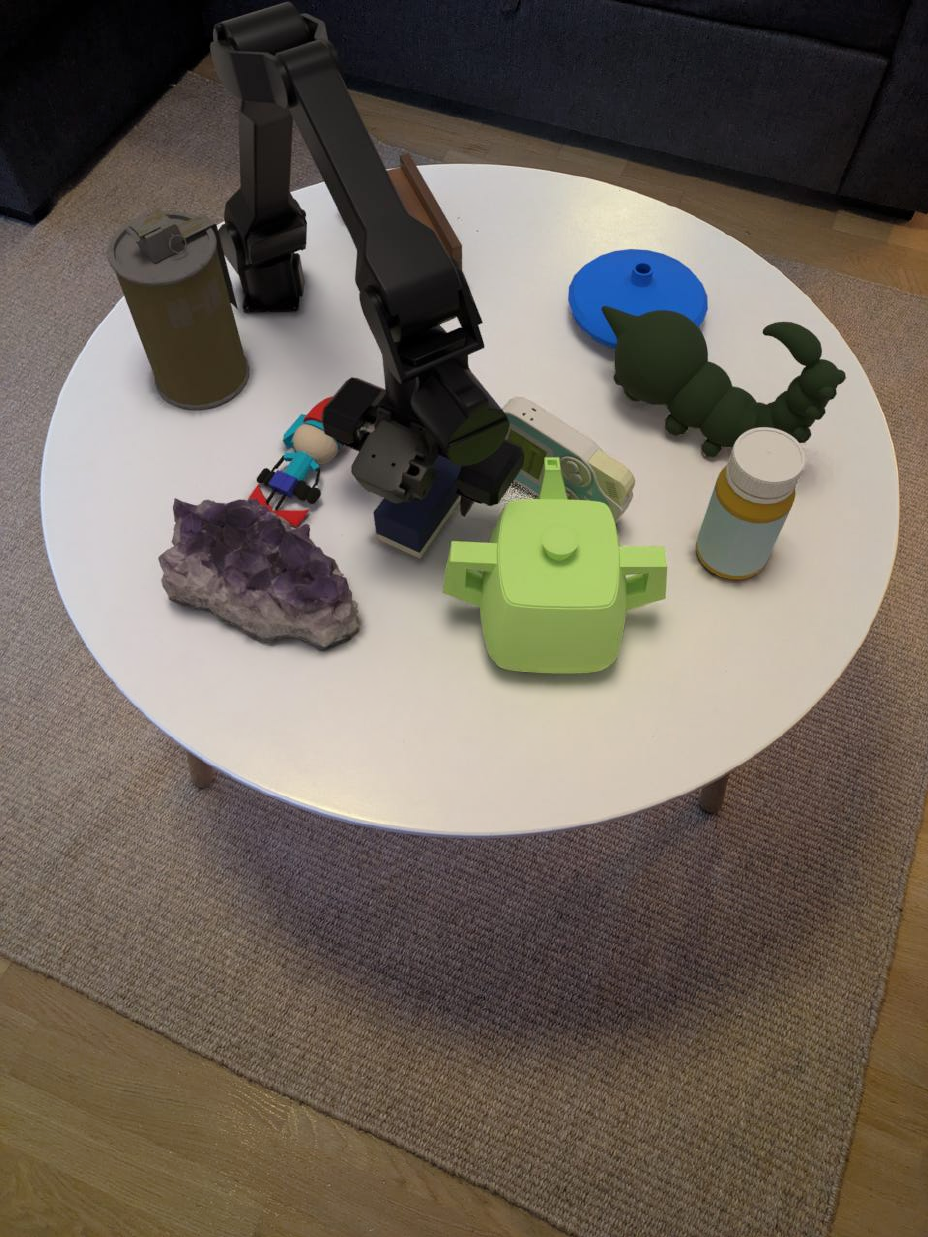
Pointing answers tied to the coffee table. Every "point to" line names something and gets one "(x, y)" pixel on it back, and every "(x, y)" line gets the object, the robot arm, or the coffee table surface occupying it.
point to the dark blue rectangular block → (419, 513)
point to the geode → (257, 573)
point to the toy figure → (299, 464)
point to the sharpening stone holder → (424, 204)
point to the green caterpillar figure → (715, 379)
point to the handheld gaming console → (567, 458)
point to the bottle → (750, 503)
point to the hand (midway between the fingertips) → (425, 495)
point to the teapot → (554, 581)
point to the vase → (633, 290)
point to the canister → (181, 306)
